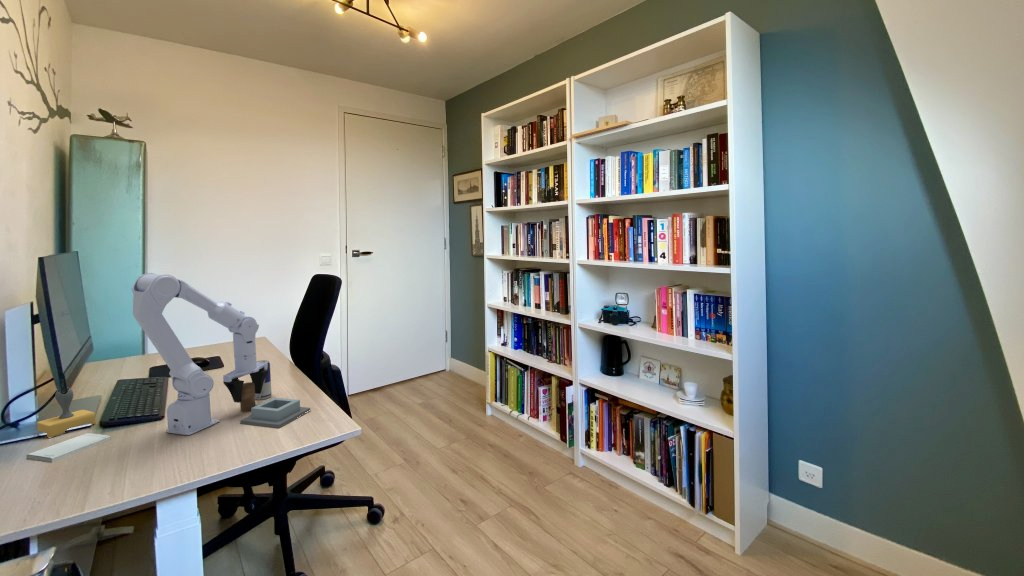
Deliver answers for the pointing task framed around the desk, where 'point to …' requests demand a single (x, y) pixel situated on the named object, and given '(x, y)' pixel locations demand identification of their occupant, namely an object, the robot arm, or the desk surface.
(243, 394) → the walnut pin
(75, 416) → the rubber stamp
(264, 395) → the energy drink
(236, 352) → the robot arm
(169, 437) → the desk surface
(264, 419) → the socket block
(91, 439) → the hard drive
